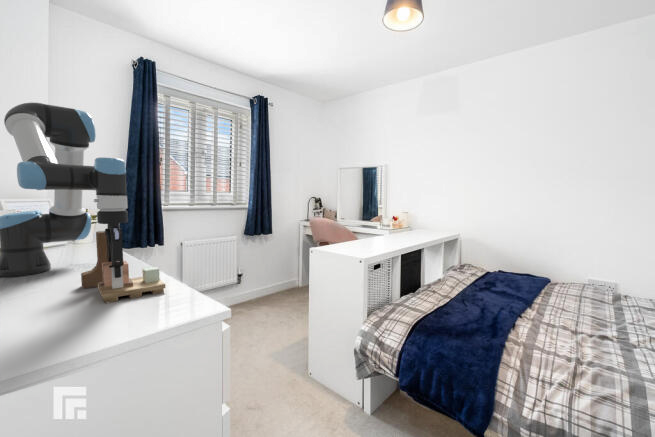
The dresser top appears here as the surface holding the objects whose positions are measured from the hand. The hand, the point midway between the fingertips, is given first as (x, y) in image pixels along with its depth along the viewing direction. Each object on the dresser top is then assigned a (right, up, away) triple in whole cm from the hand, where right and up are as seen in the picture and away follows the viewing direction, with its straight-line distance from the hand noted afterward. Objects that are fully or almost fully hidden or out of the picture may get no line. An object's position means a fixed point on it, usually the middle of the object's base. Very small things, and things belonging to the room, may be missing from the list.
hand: (116, 285), depth 93 cm
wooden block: (-12, -2, +9) cm, 16 cm away
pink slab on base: (0, 0, 0) cm, 0 cm away
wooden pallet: (+3, -3, +3) cm, 5 cm away
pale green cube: (+7, 0, +6) cm, 10 cm away
